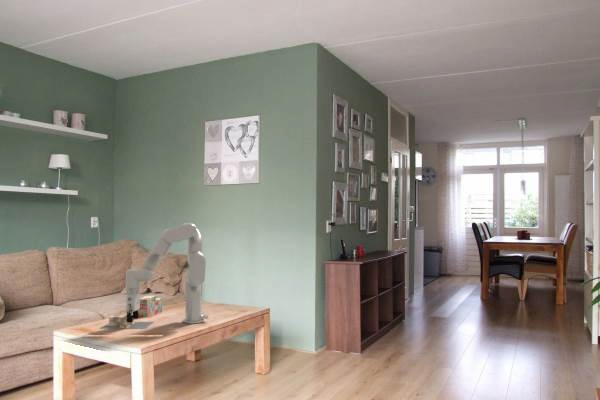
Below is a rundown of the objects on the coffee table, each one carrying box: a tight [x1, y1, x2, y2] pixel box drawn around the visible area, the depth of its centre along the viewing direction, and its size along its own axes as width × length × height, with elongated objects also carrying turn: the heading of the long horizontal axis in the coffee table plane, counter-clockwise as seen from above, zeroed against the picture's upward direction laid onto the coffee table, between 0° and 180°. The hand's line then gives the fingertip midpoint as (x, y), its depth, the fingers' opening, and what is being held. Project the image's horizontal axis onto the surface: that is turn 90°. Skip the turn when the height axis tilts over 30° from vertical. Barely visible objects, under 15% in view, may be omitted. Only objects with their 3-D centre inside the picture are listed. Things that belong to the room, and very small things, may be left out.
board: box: [99, 321, 155, 330], centre depth 288 cm, size 26×18×1 cm
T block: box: [108, 313, 135, 328], centre depth 288 cm, size 12×12×5 cm
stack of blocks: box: [138, 295, 163, 318], centre depth 321 cm, size 21×6×12 cm, turn 171°
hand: (132, 320), depth 288 cm, fingers open, 9 cm apart
